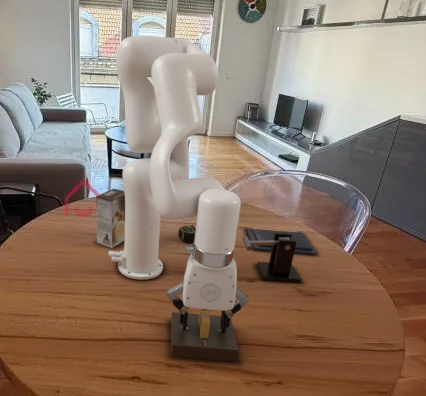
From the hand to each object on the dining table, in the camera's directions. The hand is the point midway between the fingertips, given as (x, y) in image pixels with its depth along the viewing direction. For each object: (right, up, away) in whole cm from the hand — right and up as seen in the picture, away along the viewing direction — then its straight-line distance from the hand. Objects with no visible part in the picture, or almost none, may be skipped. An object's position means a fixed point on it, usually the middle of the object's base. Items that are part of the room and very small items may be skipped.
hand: (203, 326), depth 76 cm
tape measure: (+3, +13, +45) cm, 47 cm away
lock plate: (0, -3, +1) cm, 4 cm away
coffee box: (-23, +13, +42) cm, 49 cm away
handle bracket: (+25, +5, +27) cm, 38 cm away
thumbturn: (0, -1, 0) cm, 1 cm away
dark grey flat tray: (+33, +12, +46) cm, 58 cm away
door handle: (+21, +13, +25) cm, 35 cm away
